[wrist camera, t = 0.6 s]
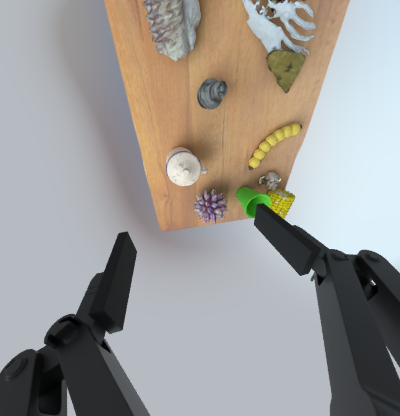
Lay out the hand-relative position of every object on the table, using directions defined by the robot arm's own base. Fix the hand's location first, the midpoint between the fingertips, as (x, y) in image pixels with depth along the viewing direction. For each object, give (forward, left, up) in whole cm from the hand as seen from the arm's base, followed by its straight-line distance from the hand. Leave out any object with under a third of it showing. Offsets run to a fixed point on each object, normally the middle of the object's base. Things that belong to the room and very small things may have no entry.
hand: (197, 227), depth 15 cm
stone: (-35, +3, -35) cm, 50 cm away
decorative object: (-37, -3, -34) cm, 51 cm away
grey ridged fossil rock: (-19, -20, -34) cm, 44 cm away
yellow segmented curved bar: (-26, +18, -34) cm, 47 cm away
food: (-13, +36, -30) cm, 48 cm away
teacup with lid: (-1, +4, -34) cm, 35 cm away
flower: (+2, +19, -35) cm, 39 cm away
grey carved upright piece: (-17, -5, -35) cm, 39 cm away
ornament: (-20, +30, -34) cm, 49 cm away
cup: (-10, +27, -34) cm, 45 cm away
